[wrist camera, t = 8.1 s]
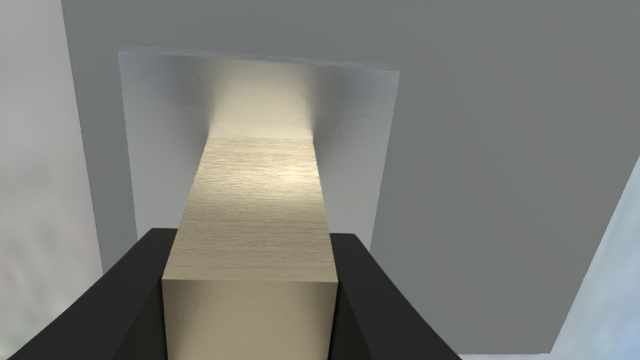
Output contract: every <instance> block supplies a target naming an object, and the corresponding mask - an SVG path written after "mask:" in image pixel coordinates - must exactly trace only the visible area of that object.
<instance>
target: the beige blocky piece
mask: <svg viewBox="0 0 640 360" xmlns="http://www.w3.org/2000/svg"><path fill="white" fill-rule="evenodd" d="M118 57H119V66H120V76H121V85H122V95H123V105H124V114H125V124H126V133H127V143H128V152H129V162H130V171H131V181H132V190H133V200H134V209H135V219H136V228H137V238H138V240H140V239H141V238H142V237H143V236H144V235H145V234H146V233H147V232H148V231H149V230H150V229H151V228H178V231H177V234H176V237H175V240H174V243H173V246H172V249H171V252H170V255H169V258H168V261H167V264H166V267H165V270H164V274H163V277H162V290H163V302H164V315H165V327H166V340H167V352H168V360H327V358H328V351H329V344H330V337H331V330H332V323H333V315H334V308H335V301H336V294H337V287H338V278H337V273H336V267H335V262H334V256H333V251H332V245H331V240H330V234H329V233H353V234H355V235H356V236H357V237H358V238H359V239H360V240H361V242H362V243H363V244H364V246H365V247H366V248H367V250H368V251H370V245H371V239H372V233H373V228H374V222H375V216H376V210H377V204H378V199H379V193H380V187H381V181H382V175H383V170H384V164H385V158H386V152H387V146H388V141H389V135H390V129H391V123H392V117H393V112H394V106H395V100H396V94H397V88H398V83H399V77H400V70H399V69H398V68H397V67H396V66H395V65H394V64H380V63H367V62H353V61H339V60H326V59H312V58H299V57H285V56H271V55H258V54H244V53H230V52H217V51H203V50H190V49H176V48H162V47H149V46H135V45H125V46H124V47H123V48H121V49H120V50H119V51H118Z"/></svg>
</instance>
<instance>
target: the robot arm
mask: <svg viewBox="0 0 640 360" xmlns="http://www.w3.org/2000/svg"><path fill="white" fill-rule="evenodd" d="M177 231H178V228H151V229H150V230H149V231H148V232H147V233H146V234H145V235H144V236H143V237H142V238H141V239H140V240H138V241H137V242H136V243H135V244H134V245H133V246H132V247H131V248H130V250H129V251H128V252H127V253H126V254H124V255H123V256H122V257H121V258H120V259H119V260H118V261H117V262H116V263H115V264H114V265H113V266H112V267H111V268H110V269H109V270H108V271H107V272H106V273H105V274H104V275H103V276H102V277H101V278H100V279H99V280H98V281H97V282H96V283H95V284H93V285H92V286H91V287H90V288H89V289H88V290H87V291H86V292H85V293H84V294H83V295H82V296H81V297H79V298H78V299H77V300H76V301H75V302H74V303H73V304H72V305H71V306H70V307H69V308H68V309H66V310H65V311H64V312H63V313H62V314H61V315H60V316H58V317H57V318H56V319H55V320H54V321H53V322H51V323H50V324H49V325H48V326H47V327H45V328H44V329H43V330H42V331H41V332H40V333H38V334H37V335H36V336H35V337H34V338H32V339H31V340H30V341H29V342H28V343H27V344H25V345H24V346H23V347H22V348H21V349H19V350H18V351H17V352H16V353H15V354H13V355H12V356H11V357H10V358H8V359H7V360H168V352H167V340H166V327H165V315H164V302H163V290H162V277H163V274H164V270H165V267H166V264H167V261H168V258H169V255H170V252H171V249H172V246H173V243H174V240H175V237H176V234H177ZM329 234H330V240H331V245H332V251H333V256H334V262H335V267H336V273H337V278H338V287H337V294H336V301H335V308H334V315H333V323H332V330H331V337H330V344H329V351H328V358H327V360H462V359H461V358H460V357H459V356H458V355H457V354H456V353H455V352H454V351H453V350H452V349H451V348H450V347H449V346H448V345H447V344H446V343H445V342H444V340H443V339H442V338H441V337H440V336H439V335H438V334H437V333H436V332H435V331H434V330H433V329H432V328H431V326H430V325H429V324H428V323H427V322H426V321H425V320H424V319H423V318H422V316H421V315H420V314H419V313H418V312H417V311H416V309H415V308H414V307H413V306H412V305H411V304H410V302H409V301H408V300H407V299H406V298H405V297H404V295H403V294H402V293H401V292H400V291H399V289H398V288H397V287H396V286H395V284H394V283H393V282H392V281H391V280H390V278H389V277H388V276H387V274H386V273H385V272H384V271H383V269H382V268H381V267H380V266H379V264H378V263H377V262H376V260H375V259H374V258H373V256H372V255H371V254H370V252H369V251H368V250H367V248H366V247H365V246H364V244H363V243H362V242H361V240H360V239H359V238H358V237H357V236H356V235H355V234H353V233H329Z"/></svg>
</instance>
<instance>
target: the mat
mask: <svg viewBox="0 0 640 360" xmlns="http://www.w3.org/2000/svg"><path fill="white" fill-rule="evenodd" d="M61 3H62V10H63V16H64V23H65V29H66V35H67V42H68V48H69V55H70V61H71V68H72V74H73V81H74V87H75V94H76V100H77V106H78V113H79V119H80V126H81V132H82V139H83V145H84V152H85V158H86V165H87V171H88V178H89V184H90V190H91V197H92V203H93V210H94V216H95V223H96V229H97V236H98V242H99V249H100V255H101V261H102V268H103V274H105V273H106V272H107V271H108V270H109V269H110V268H111V267H112V266H113V265H114V264H115V263H116V262H117V261H118V260H119V259H120V258H121V257H122V256H123V255H124V254H126V253H127V252H128V251H129V250H130V248H131V247H132V246H133V245H134V244H135V243H136V242H137V241H138V238H137V228H136V219H135V209H134V200H133V190H132V181H131V171H130V162H129V152H128V143H127V133H126V124H125V114H124V105H123V95H122V85H121V76H120V66H119V57H118V51H119V50H120V49H121V48H123V47H124V46H125V45H135V46H149V47H162V48H176V49H190V50H203V51H217V52H230V53H244V54H258V55H271V56H285V57H299V58H312V59H326V60H339V61H353V62H367V63H380V64H394V65H395V66H396V67H397V68H398V69H399V70H400V77H399V83H398V88H397V94H396V100H395V106H394V112H393V117H392V123H391V129H390V135H389V141H388V146H387V152H386V158H385V164H384V170H383V175H382V181H381V187H380V193H379V199H378V204H377V210H376V216H375V222H374V228H373V233H372V239H371V245H370V251H369V252H370V254H371V255H372V256H373V258H374V259H375V260H376V262H377V263H378V264H379V266H380V267H381V268H382V269H383V271H384V272H385V273H386V274H387V276H388V277H389V278H390V280H391V281H392V282H393V283H394V284H395V286H396V287H397V288H398V289H399V291H400V292H401V293H402V294H403V295H404V297H405V298H406V299H407V300H408V301H409V302H410V304H411V305H412V306H413V307H414V308H415V309H416V311H417V312H418V313H419V314H420V315H421V316H422V318H423V319H424V320H425V321H426V322H427V323H428V324H429V325H430V326H431V328H432V329H433V330H434V331H435V332H436V333H437V334H438V335H439V336H440V337H441V338H442V339H443V340H444V342H445V343H446V344H447V345H448V346H449V347H450V348H451V349H452V350H453V351H454V352H455V353H550V352H551V350H552V348H553V346H554V343H555V341H556V339H557V337H558V335H559V332H560V330H561V328H562V326H563V323H564V321H565V319H566V317H567V315H568V312H569V310H570V308H571V306H572V304H573V301H574V299H575V297H576V295H577V292H578V290H579V288H580V286H581V284H582V281H583V279H584V277H585V275H586V273H587V270H588V268H589V266H590V264H591V261H592V259H593V257H594V255H595V253H596V250H597V248H598V246H599V244H600V242H601V239H602V237H603V235H604V233H605V230H606V228H607V226H608V224H609V222H610V219H611V217H612V215H613V213H614V211H615V208H616V206H617V204H618V202H619V200H620V197H621V195H622V193H623V191H624V188H625V186H626V184H627V182H628V180H629V177H630V175H631V173H632V171H633V169H634V166H635V164H636V162H637V160H638V157H639V155H640V0H61Z"/></svg>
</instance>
